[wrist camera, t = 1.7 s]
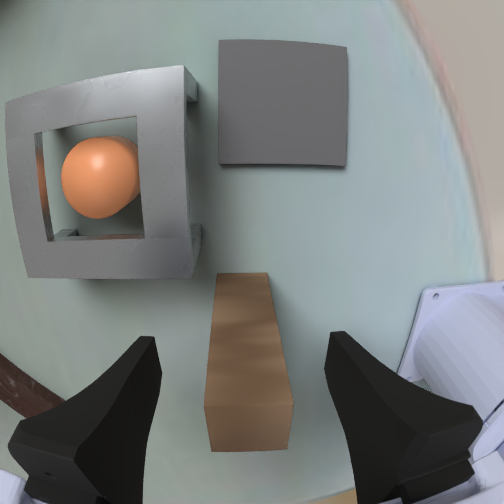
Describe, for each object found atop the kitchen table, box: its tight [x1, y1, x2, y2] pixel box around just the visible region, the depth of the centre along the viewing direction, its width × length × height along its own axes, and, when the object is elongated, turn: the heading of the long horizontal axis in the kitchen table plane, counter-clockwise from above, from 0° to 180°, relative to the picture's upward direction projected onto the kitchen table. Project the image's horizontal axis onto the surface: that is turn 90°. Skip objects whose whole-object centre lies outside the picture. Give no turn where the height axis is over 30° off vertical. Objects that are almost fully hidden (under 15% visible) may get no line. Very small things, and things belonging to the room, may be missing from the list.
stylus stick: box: [204, 273, 294, 452], centre depth 13 cm, size 3×3×9 cm
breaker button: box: [61, 136, 141, 219], centre depth 13 cm, size 3×3×2 cm
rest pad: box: [218, 40, 348, 166], centre depth 13 cm, size 6×6×1 cm
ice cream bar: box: [0, 354, 65, 418], centre depth 20 cm, size 5×2×15 cm
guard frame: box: [5, 65, 202, 279], centre depth 13 cm, size 8×8×4 cm
